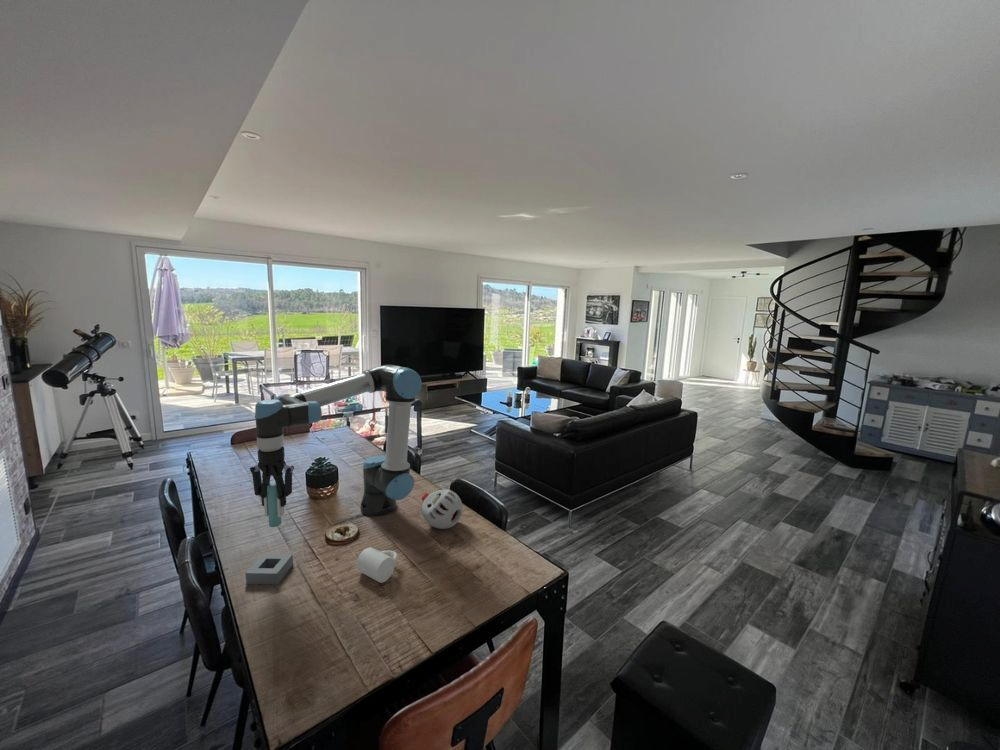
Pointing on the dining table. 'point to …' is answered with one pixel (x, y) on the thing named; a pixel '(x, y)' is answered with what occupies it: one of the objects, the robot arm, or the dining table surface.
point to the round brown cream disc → (341, 533)
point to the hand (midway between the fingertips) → (274, 514)
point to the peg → (273, 505)
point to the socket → (269, 569)
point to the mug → (376, 564)
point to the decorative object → (442, 508)
